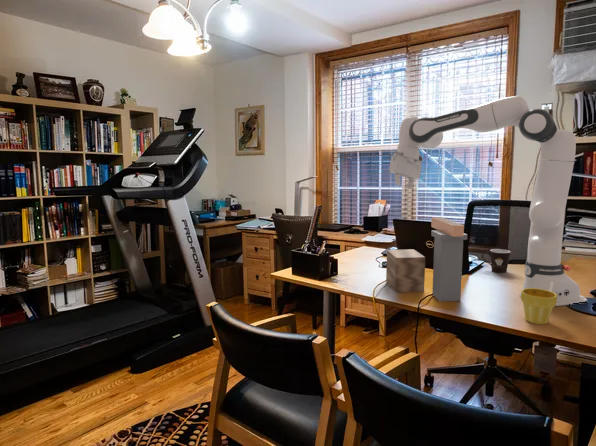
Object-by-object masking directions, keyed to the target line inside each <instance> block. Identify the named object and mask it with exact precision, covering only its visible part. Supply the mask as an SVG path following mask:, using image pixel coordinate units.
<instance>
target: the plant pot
mask: <svg viewBox="0 0 596 446" xmlns="http://www.w3.org/2000/svg"><path fill="white" fill-rule="evenodd" d="M521 290H522V289H521ZM521 290H520V293H521V296H520V300H521V302H522V304H523V310H524V311H523V313H524V318H525V319H524V320H526V321H527V322H529V323H532V324H535V325H546V324H548V323H549V320H550V318H551V315H552V312H553V309H554V307H557V306H556V302H557V295H556V294H555V293H554V292H551V291H548V290H544V289H538V288H526V289H523V290H522V291H521Z"/></svg>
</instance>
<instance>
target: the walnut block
mask: <svg viewBox="0 0 596 446" xmlns="http://www.w3.org/2000/svg"><path fill="white" fill-rule="evenodd" d="M385 271H386V274H385V276H386V279H385V282H386V283H387V284H388V286H389V287H390V288H391V289H392V290H393V291H394V293H418V292H419V293H423V292H425V281H426V279H425V278H426V277H425V276H426V275H425V274H426V273H425V272H426V256H424V255H423V254H422V253H420V252H418V251H417V249H416V250H415V249H411V248H410V249H409V248H408V249H386V270H385Z"/></svg>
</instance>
